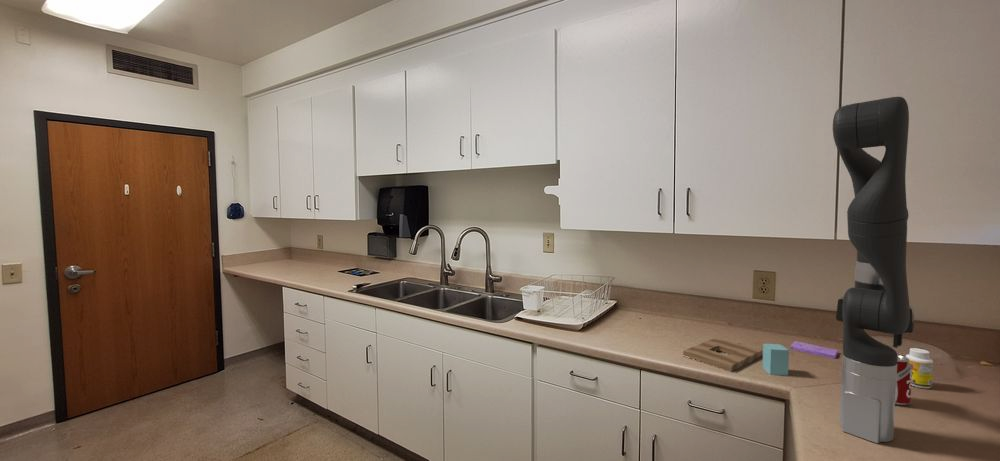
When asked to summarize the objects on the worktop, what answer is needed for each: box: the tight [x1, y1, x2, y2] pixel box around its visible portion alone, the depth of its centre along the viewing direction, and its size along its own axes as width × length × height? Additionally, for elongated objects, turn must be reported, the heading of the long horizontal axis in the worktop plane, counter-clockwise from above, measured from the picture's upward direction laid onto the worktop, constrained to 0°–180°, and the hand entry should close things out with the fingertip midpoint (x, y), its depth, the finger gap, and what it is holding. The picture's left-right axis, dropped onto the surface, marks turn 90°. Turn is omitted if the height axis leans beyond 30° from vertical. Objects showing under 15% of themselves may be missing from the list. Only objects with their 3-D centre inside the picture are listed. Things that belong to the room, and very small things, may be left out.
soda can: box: [895, 354, 912, 406], centre depth 106 cm, size 7×7×12 cm
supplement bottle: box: [905, 347, 934, 389], centre depth 115 cm, size 6×6×10 cm
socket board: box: [682, 337, 763, 373], centre depth 138 cm, size 22×16×2 cm
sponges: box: [790, 340, 839, 359], centre depth 142 cm, size 7×13×2 cm, turn 42°
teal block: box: [762, 343, 790, 376], centre depth 125 cm, size 5×5×8 cm
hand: (872, 342), depth 102 cm, fingers open, 8 cm apart
